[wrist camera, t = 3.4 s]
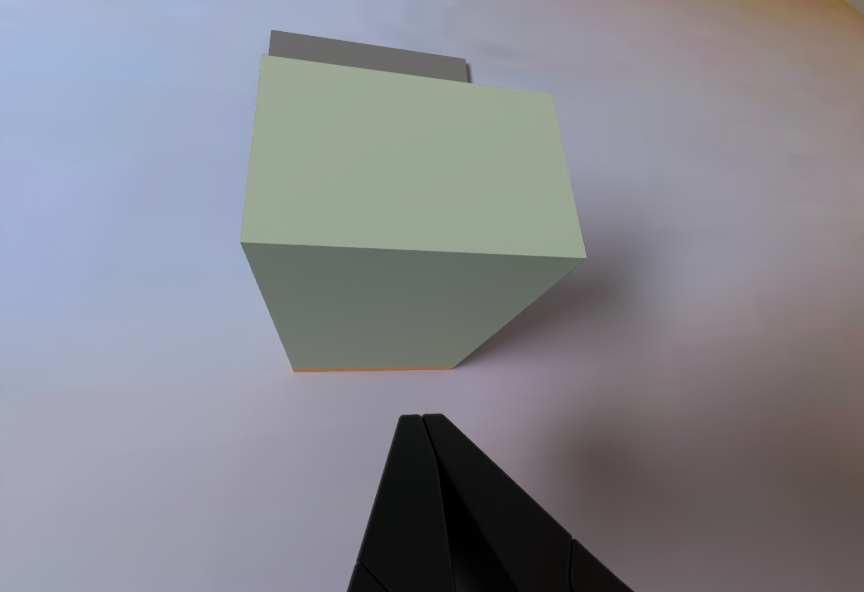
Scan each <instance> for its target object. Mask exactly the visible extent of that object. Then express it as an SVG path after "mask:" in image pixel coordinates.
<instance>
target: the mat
mask: <svg viewBox="0 0 864 592" xmlns="http://www.w3.org/2000/svg"><path fill="white" fill-rule="evenodd" d="M269 56H275V57H283V58H290V59H297V60H305V61H312V62H319V63H326V64H334V65H341V66H348V67H356V68H363V69H370V70H378V71H385V72H392V73H399V74H407V75H414V76H421V77H429V78H436V79H443V80H451V81H458V82H465V83H468V78H467V69H466V61H465V59H462V58H455V57H448V56H442V55H435V54H428V53H422V52H415V51H408V50H402V49H395V48H388V47H382V46H375V45H368V44H362V43H355V42H348V41H342V40H335V39H328V38H322V37H315V36H308V35H302V34H295V33H288V32H282V31H275V30H271V38H270V47H269Z"/></svg>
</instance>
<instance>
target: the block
mask: <svg viewBox="0 0 864 592" xmlns="http://www.w3.org/2000/svg"><path fill="white" fill-rule="evenodd" d="M240 243H241V245H242V248H243V250H244V252H245V255H246V257H247V260H248V262H249V264H250V267H251V269H252V272H253V274H254V277H255V279H256V281H257V284H258V286H259V289H260V291H261V293H262V296H263V298H264V301H265V303H266V306H267V308H268V310H269V313H270V315H271V318H272V320H273V322H274V325H275V327H276V330H277V332H278V334H279V337H280V339H281V342H282V344H283V347H284V349H285V351H286V354H287V356H288V359H289V361H290V363H291V366H292V368H293V371H294V372H324V371H385V370H447V369H452V368H454V367H455V366H456V365H457V364H459V363H460V362H461V361H462V360H463V359H465V358H466V357H467V356H468V355H469V354H471V353H472V352H473V351H474V350H476V349H477V348H478V347H479V346H480V345H482V344H483V343H484V342H485V341H487V340H488V339H489V338H490V337H491V336H493V335H494V334H495V333H496V332H497V331H499V330H500V329H501V328H502V327H504V326H505V325H506V324H507V323H508V322H510V321H511V320H512V319H513V318H515V317H516V316H517V315H518V314H519V313H521V312H522V311H523V310H524V309H525V308H527V307H528V306H529V305H530V304H532V303H533V302H534V301H535V300H536V299H538V298H539V297H540V296H541V295H543V294H544V293H545V292H546V291H547V290H549V289H550V288H551V287H552V286H553V285H555V284H556V283H557V282H558V281H560V280H561V279H562V278H563V277H564V276H566V275H567V274H568V273H569V272H571V271H572V270H573V269H574V268H575V267H577V266H578V265H579V264H580V263H581V262H583V261H584V260H585V259H586V258H587V257H586V252H585V247H584V242H583V238H582V233H581V228H580V224H579V219H578V214H577V209H576V205H575V200H574V195H573V190H572V186H571V181H570V176H569V172H568V167H567V162H566V157H565V153H564V148H563V143H562V138H561V134H560V129H559V124H558V120H557V115H556V110H555V105H554V101H553V96H552V94H546V93H538V92H531V91H524V90H516V89H509V88H502V87H494V86H487V85H480V84H472V83H465V82H458V81H451V80H443V79H436V78H429V77H421V76H414V75H407V74H399V73H392V72H385V71H378V70H370V69H363V68H356V67H348V66H341V65H334V64H326V63H319V62H312V61H305V60H297V59H290V58H283V57H275V56H268V55H262V59H261V67H260V76H259V85H258V93H257V102H256V111H255V119H254V128H253V136H252V145H251V154H250V162H249V171H248V180H247V188H246V197H245V205H244V214H243V223H242V231H241V240H240Z"/></svg>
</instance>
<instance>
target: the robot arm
mask: <svg viewBox="0 0 864 592" xmlns="http://www.w3.org/2000/svg"><path fill="white" fill-rule="evenodd" d="M347 592H634V591H633V590H632V589H630V588H629V587H628V586H627V585H626V584H624V583H623V582H622V581H621V580H620V579H619V578H618V577H617V576H615V575H614V574H613V573H612V572H611V571H610V570H609V569H608V568H607V567H606V566H604V565H603V564H602V563H601V562H600V561H599V560H598V559H597V558H596V557H594V556H593V555H592V554H591V553H590V552H589V551H588V550H587V549H586V548H585V547H584V546H583V545H582V544H581V543H580V542H578V541H577V540H576V539H572V536H571V534H570V533H569V532H568V531H567V530H565V529H564V528H563V527H562V526H561V525H560V524H559V523H558V522H557V521H556V520H555V519H554V518H553V517H552V516H551V515H550V514H548V513H547V512H546V511H545V510H544V509H543V508H542V507H541V506H540V505H539V504H538V503H537V502H536V501H535V500H534V499H533V498H531V497H530V496H529V495H528V494H527V493H526V492H525V491H524V490H523V489H522V488H521V487H520V486H519V485H518V484H517V483H516V482H514V481H513V480H512V479H511V478H510V477H509V476H508V475H507V474H506V473H505V472H504V471H503V470H502V469H501V468H500V467H499V466H497V465H496V464H495V463H494V462H493V461H492V460H491V459H490V458H489V457H488V456H487V455H486V454H485V453H484V452H483V451H482V450H480V449H479V448H478V447H477V446H476V445H475V444H474V443H473V442H472V441H471V440H470V439H469V438H468V437H467V436H466V435H465V434H463V433H462V432H461V431H460V430H459V429H458V428H457V427H456V426H455V425H454V424H453V423H452V422H451V421H450V420H449V419H448V418H446V417H445V416H444V415H443V414H439V413H438V414H424V415H422V417H421V416H420V415H418V414H413V415H401V416H400V417H399V420H398V424H397V427H396V430H395V434H394V437H393V440H392V444H391V447H390V450H389V454H388V457H387V460H386V464H385V467H384V470H383V474H382V477H381V480H380V484H379V487H378V490H377V494H376V497H375V501H374V504H373V507H372V511H371V514H370V517H369V521H368V524H367V527H366V531H365V534H364V537H363V541H362V544H361V547H360V551H359V554H358V557H357V561H356V565H355V566H354V570H353V573H352V576H351V580H350V583H349V586H348V590H347Z"/></svg>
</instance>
